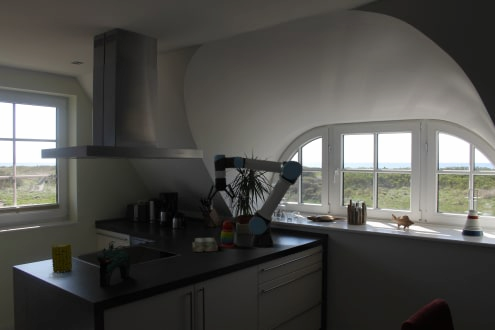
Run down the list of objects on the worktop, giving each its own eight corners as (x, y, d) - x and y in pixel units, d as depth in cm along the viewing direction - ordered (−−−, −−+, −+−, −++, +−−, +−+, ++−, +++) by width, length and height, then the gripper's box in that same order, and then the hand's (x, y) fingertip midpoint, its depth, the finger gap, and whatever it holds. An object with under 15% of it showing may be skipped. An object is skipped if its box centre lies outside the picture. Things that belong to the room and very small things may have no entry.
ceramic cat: (105, 288, 180) (104, 244, 180) (94, 286, 182) (93, 243, 182) (132, 276, 198) (132, 236, 198) (122, 275, 201) (122, 236, 201)
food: (57, 277, 202) (51, 274, 210) (80, 267, 210) (73, 265, 218) (49, 249, 200) (43, 247, 208) (72, 241, 208) (66, 239, 216)
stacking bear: (233, 248, 261) (233, 222, 261) (218, 248, 263) (218, 221, 263) (237, 245, 271) (236, 219, 271) (222, 244, 273) (222, 219, 273)
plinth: (215, 245, 270) (215, 237, 270) (217, 250, 254) (217, 241, 254) (192, 246, 267) (192, 237, 267) (192, 251, 252) (192, 242, 252)
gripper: (235, 176, 271) (236, 207, 271) (201, 178, 262) (202, 209, 262) (239, 176, 265) (240, 208, 264) (204, 178, 255) (205, 210, 255)
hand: (221, 209), depth 263 cm, fingers open, 13 cm apart
